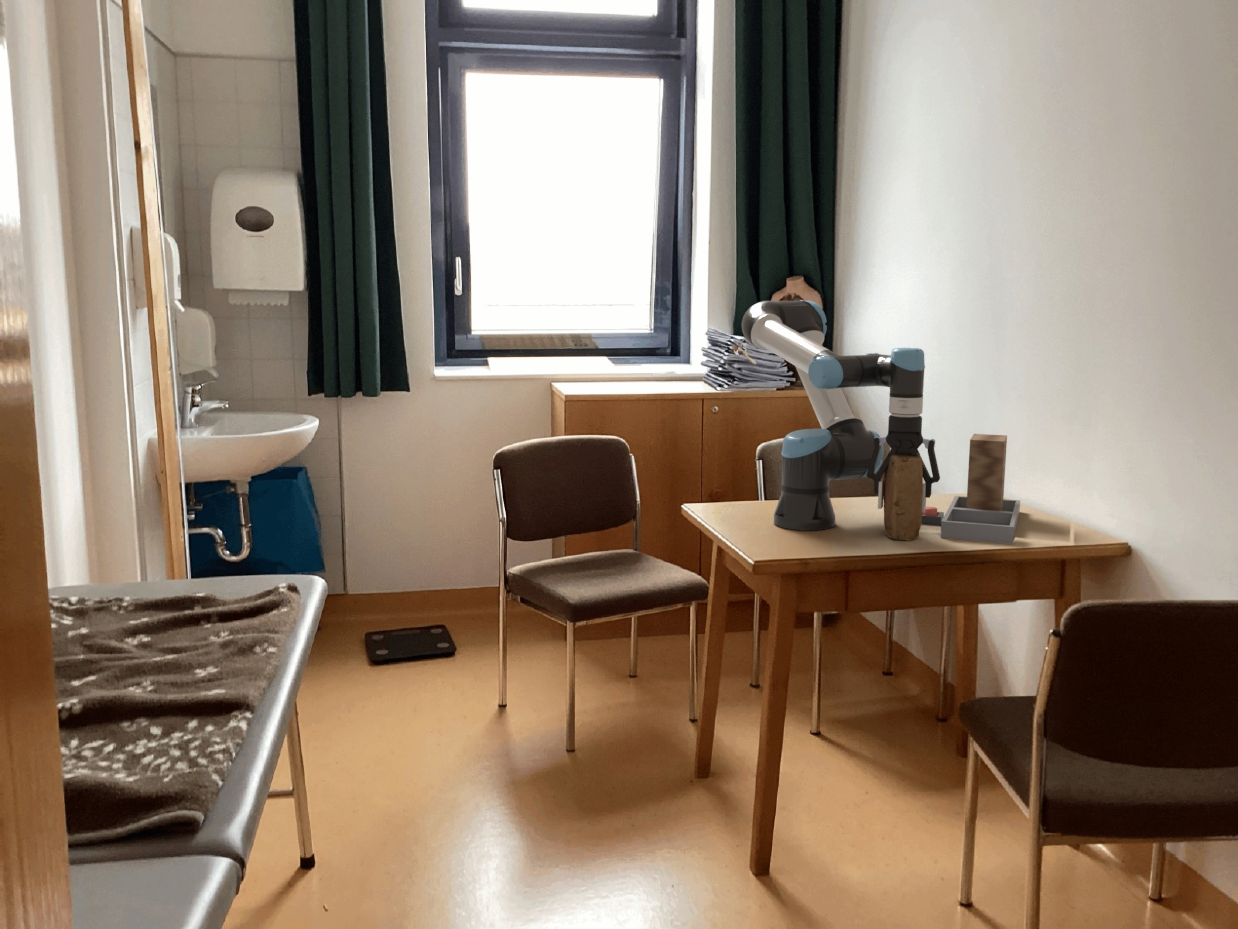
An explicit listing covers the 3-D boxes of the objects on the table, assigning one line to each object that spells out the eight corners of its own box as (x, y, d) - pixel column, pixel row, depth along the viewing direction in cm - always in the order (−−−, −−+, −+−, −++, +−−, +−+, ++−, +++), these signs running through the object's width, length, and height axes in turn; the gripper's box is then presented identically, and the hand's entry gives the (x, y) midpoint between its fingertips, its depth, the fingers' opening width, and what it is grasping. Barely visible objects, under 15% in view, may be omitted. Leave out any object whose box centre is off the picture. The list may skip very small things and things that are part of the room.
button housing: (915, 527, 258) (915, 515, 257) (918, 521, 263) (919, 510, 263) (940, 529, 255) (941, 517, 255) (943, 523, 261) (943, 512, 260)
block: (922, 541, 243) (926, 456, 240) (890, 542, 243) (893, 457, 240) (909, 530, 254) (912, 449, 250) (878, 531, 254) (881, 449, 250)
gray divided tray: (940, 537, 247) (941, 521, 246) (954, 510, 276) (955, 495, 275) (1012, 544, 241) (1013, 527, 240) (1019, 515, 270) (1020, 500, 269)
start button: (921, 522, 258) (922, 509, 258) (923, 520, 261) (923, 506, 261) (935, 524, 257) (936, 510, 256) (937, 521, 260) (938, 507, 259)
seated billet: (965, 518, 262) (970, 439, 258) (969, 510, 272) (973, 433, 268) (999, 521, 259) (1004, 441, 255) (1002, 512, 269) (1007, 435, 265)
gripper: (855, 414, 244) (852, 508, 248) (952, 418, 236) (948, 516, 240) (860, 411, 251) (857, 502, 255) (956, 414, 243) (951, 509, 247)
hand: (901, 509), depth 247 cm, fingers closed on block, 9 cm apart
